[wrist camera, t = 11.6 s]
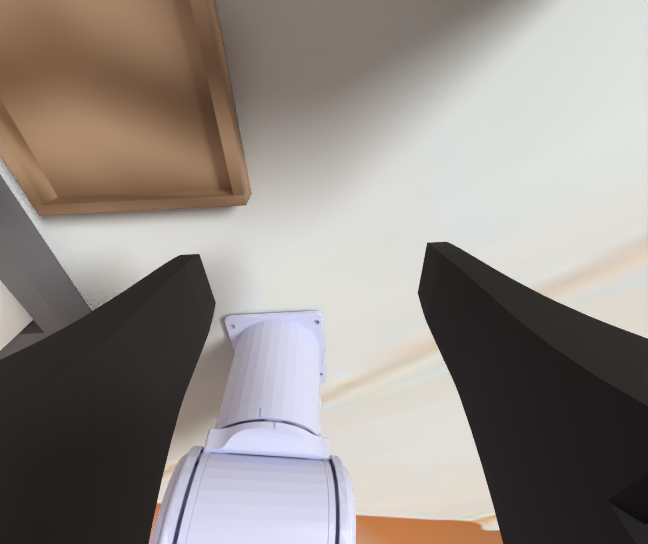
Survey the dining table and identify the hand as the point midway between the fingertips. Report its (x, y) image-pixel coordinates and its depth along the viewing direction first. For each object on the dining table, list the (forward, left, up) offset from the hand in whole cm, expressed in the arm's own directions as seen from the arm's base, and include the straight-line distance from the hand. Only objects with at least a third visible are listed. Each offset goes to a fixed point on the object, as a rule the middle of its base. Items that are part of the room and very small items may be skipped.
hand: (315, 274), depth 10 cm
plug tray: (+5, +10, -10) cm, 15 cm away
